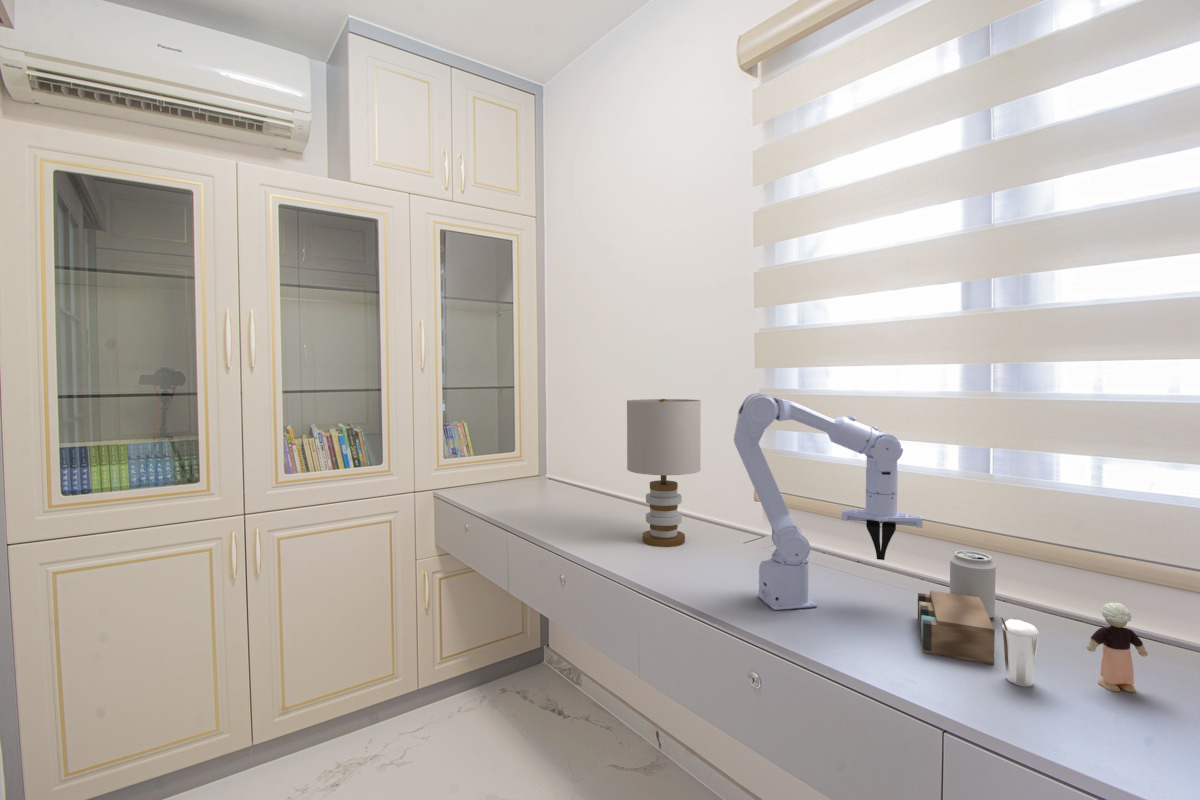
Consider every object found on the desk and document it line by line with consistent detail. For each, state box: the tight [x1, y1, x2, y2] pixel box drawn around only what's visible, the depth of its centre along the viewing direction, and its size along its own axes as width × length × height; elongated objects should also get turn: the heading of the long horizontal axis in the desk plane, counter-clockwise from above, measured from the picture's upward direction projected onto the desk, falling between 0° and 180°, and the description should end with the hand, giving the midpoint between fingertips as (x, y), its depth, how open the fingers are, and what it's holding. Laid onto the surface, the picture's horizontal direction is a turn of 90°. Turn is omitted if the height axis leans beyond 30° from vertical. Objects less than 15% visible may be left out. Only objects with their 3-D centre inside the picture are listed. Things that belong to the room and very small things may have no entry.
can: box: [949, 549, 997, 619], centre depth 111 cm, size 8×8×12 cm
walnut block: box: [917, 590, 996, 665], centre depth 101 cm, size 10×15×6 cm, turn 154°
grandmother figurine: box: [1086, 602, 1149, 693], centre depth 85 cm, size 8×4×13 cm, turn 92°
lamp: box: [626, 398, 702, 548], centre depth 163 cm, size 21×21×41 cm
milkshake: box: [1000, 617, 1040, 688], centre depth 87 cm, size 4×5×10 cm
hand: (880, 558), depth 115 cm, fingers closed
